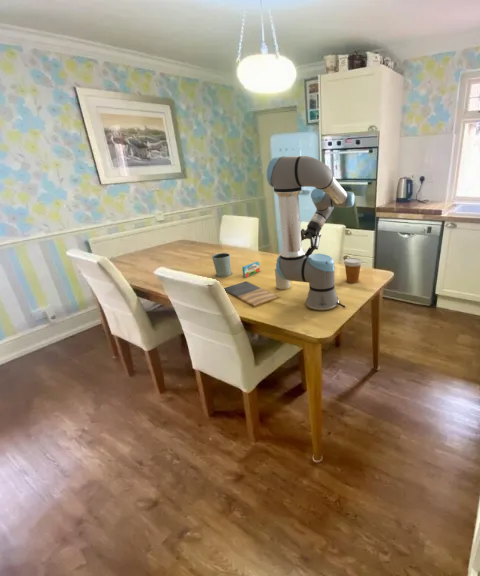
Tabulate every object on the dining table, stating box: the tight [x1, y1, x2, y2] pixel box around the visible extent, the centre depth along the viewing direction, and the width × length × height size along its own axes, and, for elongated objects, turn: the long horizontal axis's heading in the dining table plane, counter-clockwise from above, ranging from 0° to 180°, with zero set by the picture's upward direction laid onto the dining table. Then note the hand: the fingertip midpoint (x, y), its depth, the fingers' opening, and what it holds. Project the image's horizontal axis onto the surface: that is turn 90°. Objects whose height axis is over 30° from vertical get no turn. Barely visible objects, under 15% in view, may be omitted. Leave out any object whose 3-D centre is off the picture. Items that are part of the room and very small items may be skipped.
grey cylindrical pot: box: [211, 252, 232, 278], centre depth 189 cm, size 10×10×12 cm
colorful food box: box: [241, 261, 261, 278], centre depth 190 cm, size 12×2×6 cm, turn 145°
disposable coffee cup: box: [343, 257, 362, 284], centre depth 174 cm, size 10×10×12 cm
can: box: [274, 268, 291, 290], centre depth 168 cm, size 8×8×12 cm
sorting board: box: [223, 280, 279, 308], centre depth 163 cm, size 30×14×1 cm, turn 44°
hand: (296, 256), depth 171 cm, fingers open, 13 cm apart
